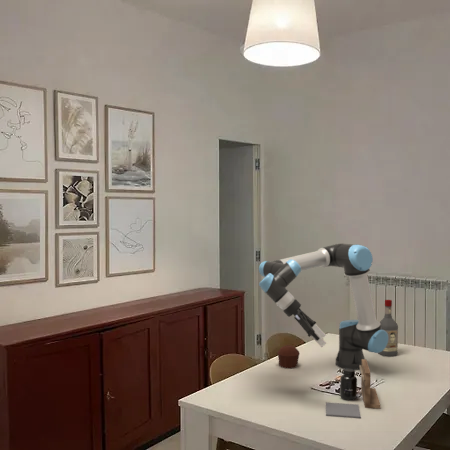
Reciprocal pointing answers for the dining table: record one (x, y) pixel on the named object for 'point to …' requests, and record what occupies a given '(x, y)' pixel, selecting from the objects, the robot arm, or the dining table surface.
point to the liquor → (389, 331)
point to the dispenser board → (368, 387)
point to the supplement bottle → (348, 384)
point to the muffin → (288, 356)
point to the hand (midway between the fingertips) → (324, 341)
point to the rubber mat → (342, 410)
